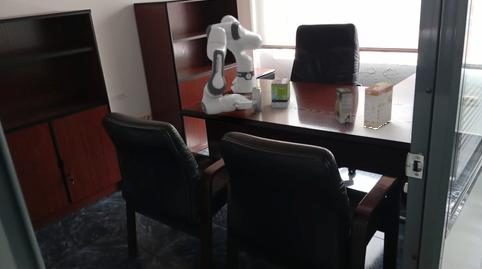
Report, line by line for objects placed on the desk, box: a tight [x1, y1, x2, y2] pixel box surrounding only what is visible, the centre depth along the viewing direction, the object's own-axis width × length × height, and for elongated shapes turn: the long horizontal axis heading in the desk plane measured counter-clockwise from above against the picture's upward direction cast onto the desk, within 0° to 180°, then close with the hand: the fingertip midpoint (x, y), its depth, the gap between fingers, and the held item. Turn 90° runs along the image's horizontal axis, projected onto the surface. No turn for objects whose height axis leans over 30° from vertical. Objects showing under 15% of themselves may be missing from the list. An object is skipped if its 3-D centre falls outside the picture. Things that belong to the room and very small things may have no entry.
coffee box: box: [334, 87, 354, 124], centre depth 204 cm, size 9×6×16 cm
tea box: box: [270, 77, 291, 109], centre depth 239 cm, size 15×10×15 cm, turn 168°
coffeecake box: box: [363, 81, 394, 129], centre depth 194 cm, size 15×7×20 cm, turn 133°
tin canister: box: [251, 86, 263, 114], centre depth 228 cm, size 5×5×14 cm
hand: (253, 99), depth 227 cm, fingers open, 8 cm apart
